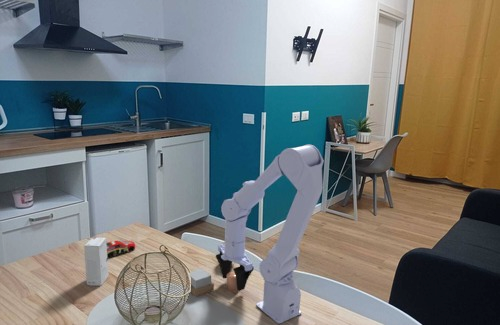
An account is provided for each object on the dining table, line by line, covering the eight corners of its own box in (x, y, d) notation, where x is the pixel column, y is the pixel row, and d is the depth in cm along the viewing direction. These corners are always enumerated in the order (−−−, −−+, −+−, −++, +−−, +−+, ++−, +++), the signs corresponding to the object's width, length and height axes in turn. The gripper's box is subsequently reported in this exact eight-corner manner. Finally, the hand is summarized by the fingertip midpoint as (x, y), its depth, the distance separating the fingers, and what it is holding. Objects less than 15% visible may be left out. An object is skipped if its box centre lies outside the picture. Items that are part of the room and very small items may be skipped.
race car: (131, 245, 131) (131, 234, 130) (138, 250, 127) (138, 239, 126) (93, 255, 122) (93, 244, 121) (100, 261, 118) (99, 249, 117)
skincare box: (101, 286, 104) (99, 246, 101) (85, 285, 103) (83, 245, 101) (109, 275, 110) (107, 237, 107) (93, 274, 110) (92, 236, 107)
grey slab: (211, 283, 104) (211, 275, 103) (195, 288, 101) (195, 280, 100) (202, 276, 108) (202, 268, 107) (186, 281, 105) (186, 273, 104)
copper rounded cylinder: (242, 289, 105) (243, 276, 105) (231, 293, 103) (231, 280, 102) (235, 282, 109) (235, 270, 108) (223, 286, 106) (224, 274, 105)
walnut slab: (213, 292, 104) (213, 284, 104) (194, 298, 101) (195, 290, 100) (203, 282, 109) (203, 275, 108) (184, 288, 105) (184, 280, 105)
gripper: (209, 233, 106) (208, 276, 109) (238, 252, 95) (236, 299, 97) (229, 228, 110) (228, 269, 113) (259, 246, 99) (257, 291, 102)
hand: (233, 283), depth 106 cm, fingers open, 7 cm apart
